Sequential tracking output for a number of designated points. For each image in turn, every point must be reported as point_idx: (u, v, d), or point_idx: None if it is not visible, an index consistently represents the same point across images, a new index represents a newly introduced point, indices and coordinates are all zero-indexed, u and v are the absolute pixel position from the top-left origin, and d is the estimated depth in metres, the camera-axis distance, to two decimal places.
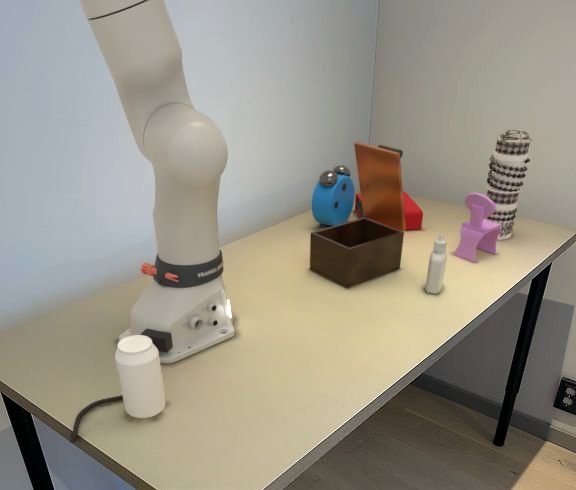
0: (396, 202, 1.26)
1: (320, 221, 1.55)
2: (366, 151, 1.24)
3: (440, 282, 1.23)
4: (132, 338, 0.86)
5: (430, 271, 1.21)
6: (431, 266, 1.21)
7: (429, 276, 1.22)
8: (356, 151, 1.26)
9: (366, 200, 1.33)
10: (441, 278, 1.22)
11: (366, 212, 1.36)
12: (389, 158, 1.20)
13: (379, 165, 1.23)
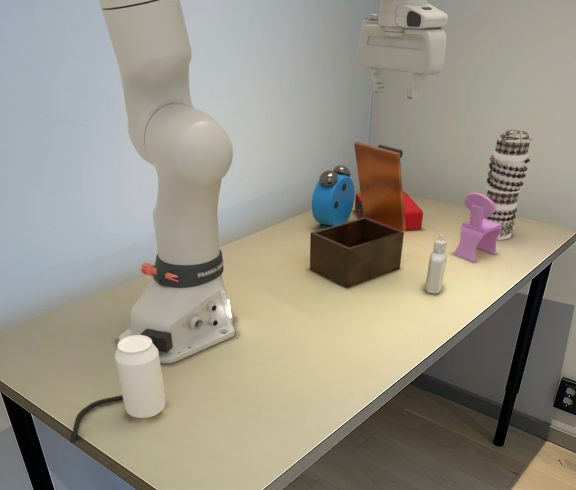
0: (396, 202, 1.26)
1: (320, 221, 1.55)
2: (366, 151, 1.24)
3: (440, 282, 1.23)
4: (132, 338, 0.86)
5: (430, 271, 1.21)
6: (431, 266, 1.21)
7: (429, 276, 1.22)
8: (356, 151, 1.26)
9: (366, 200, 1.33)
10: (441, 278, 1.22)
11: (366, 212, 1.36)
12: (389, 158, 1.20)
13: (379, 165, 1.23)
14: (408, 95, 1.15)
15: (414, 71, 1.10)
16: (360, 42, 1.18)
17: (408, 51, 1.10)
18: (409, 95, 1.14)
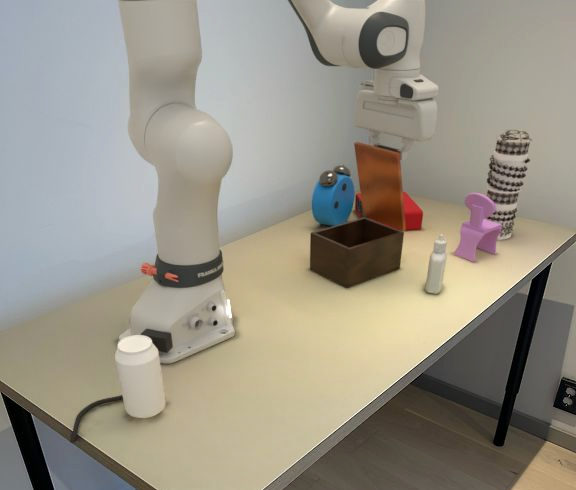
0: (396, 202, 1.26)
1: (320, 221, 1.55)
2: (366, 151, 1.24)
3: (440, 282, 1.23)
4: (132, 338, 0.86)
5: (430, 271, 1.21)
6: (431, 266, 1.21)
7: (429, 276, 1.22)
8: (356, 151, 1.26)
9: (366, 200, 1.33)
10: (441, 278, 1.22)
11: (366, 212, 1.36)
12: (389, 158, 1.20)
13: (379, 165, 1.23)
14: None
15: (407, 137, 1.17)
16: (356, 105, 1.25)
17: (402, 119, 1.17)
18: None
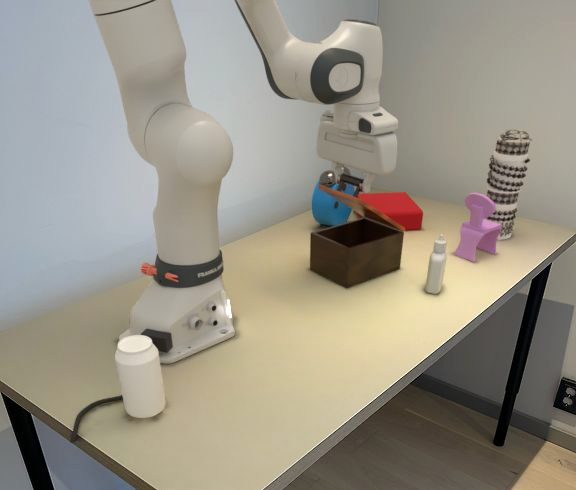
0: (383, 219, 1.25)
1: (320, 221, 1.55)
2: (332, 193, 1.23)
3: (440, 282, 1.23)
4: (132, 338, 0.86)
5: (430, 271, 1.21)
6: (431, 266, 1.21)
7: (429, 276, 1.22)
8: (324, 191, 1.26)
9: (358, 211, 1.33)
10: (441, 278, 1.22)
11: (364, 216, 1.36)
12: (354, 201, 1.19)
13: (350, 202, 1.22)
14: (360, 188, 1.20)
15: (368, 170, 1.15)
16: (318, 136, 1.22)
17: (362, 152, 1.14)
18: (361, 189, 1.19)
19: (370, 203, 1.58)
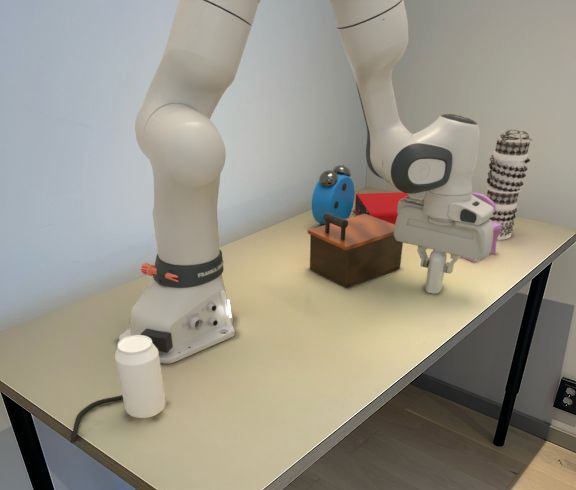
0: None
1: (320, 221, 1.55)
2: None
3: (440, 282, 1.23)
4: (132, 338, 0.86)
5: (430, 271, 1.21)
6: (431, 266, 1.21)
7: (429, 276, 1.22)
8: None
9: None
10: (441, 278, 1.22)
11: None
12: None
13: None
14: (444, 269, 1.21)
15: (464, 256, 1.16)
16: (398, 222, 1.21)
17: (457, 239, 1.15)
18: (445, 270, 1.21)
19: (370, 203, 1.58)
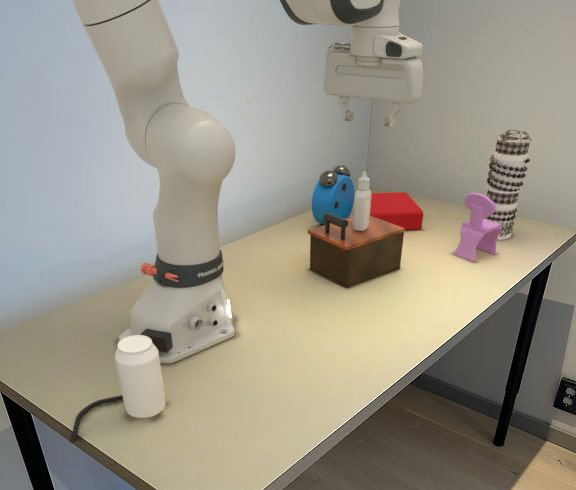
0: None
1: (320, 221, 1.55)
2: None
3: (365, 219, 1.26)
4: (132, 338, 0.86)
5: (355, 208, 1.25)
6: (355, 203, 1.24)
7: (354, 213, 1.26)
8: None
9: None
10: (366, 215, 1.26)
11: None
12: None
13: None
14: (385, 122, 1.14)
15: (393, 100, 1.10)
16: (327, 71, 1.15)
17: (386, 81, 1.09)
18: (387, 123, 1.14)
19: None
